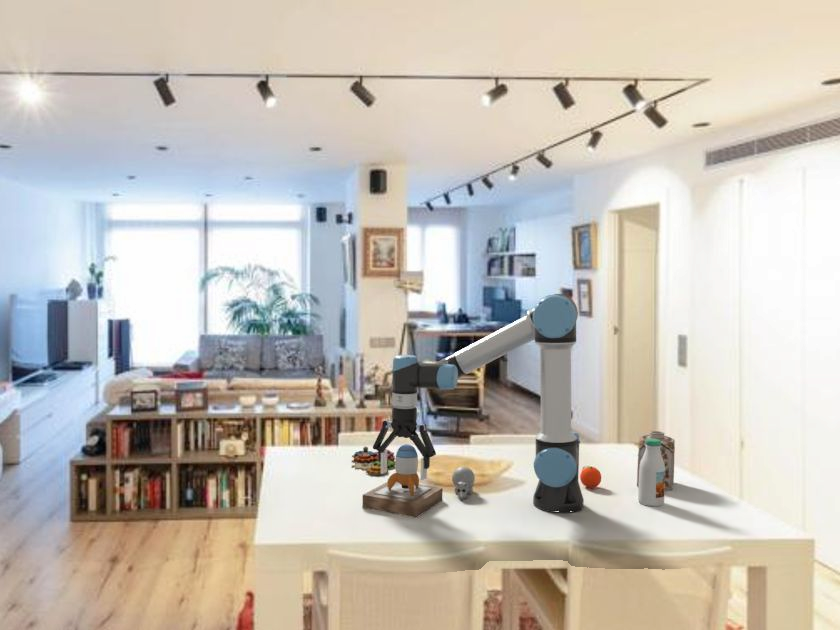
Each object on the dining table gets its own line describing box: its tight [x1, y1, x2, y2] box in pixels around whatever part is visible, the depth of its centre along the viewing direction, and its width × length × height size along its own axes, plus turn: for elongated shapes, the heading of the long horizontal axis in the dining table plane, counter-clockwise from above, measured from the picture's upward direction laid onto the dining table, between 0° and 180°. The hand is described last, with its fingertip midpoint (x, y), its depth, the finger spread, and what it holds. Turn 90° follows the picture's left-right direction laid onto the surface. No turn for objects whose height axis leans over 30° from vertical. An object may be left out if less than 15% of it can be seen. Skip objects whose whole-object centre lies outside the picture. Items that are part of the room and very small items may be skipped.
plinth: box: [361, 481, 443, 518], centre depth 226 cm, size 18×18×4 cm
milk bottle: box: [637, 438, 666, 507], centre depth 231 cm, size 8×8×20 cm
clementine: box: [579, 465, 602, 489], centre depth 247 cm, size 8×7×7 cm
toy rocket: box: [386, 443, 420, 496], centre depth 225 cm, size 10×11×15 cm
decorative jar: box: [636, 430, 676, 491], centre depth 251 cm, size 12×12×18 cm
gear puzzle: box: [351, 446, 396, 476], centre depth 272 cm, size 31×16×4 cm, turn 5°
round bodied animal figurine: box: [451, 466, 476, 501], centre depth 236 cm, size 7×12×8 cm, turn 170°
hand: (403, 476), depth 226 cm, fingers open, 13 cm apart
